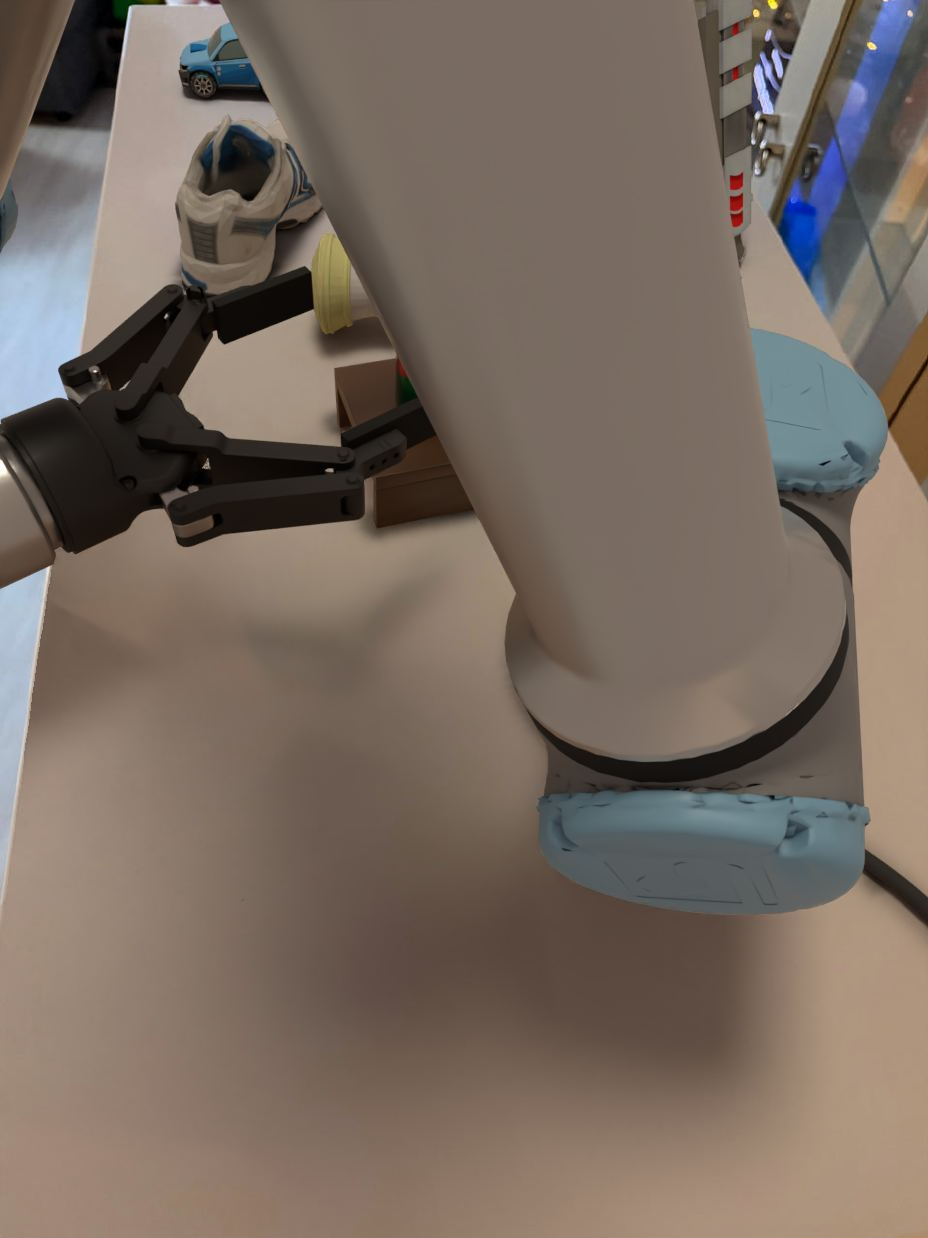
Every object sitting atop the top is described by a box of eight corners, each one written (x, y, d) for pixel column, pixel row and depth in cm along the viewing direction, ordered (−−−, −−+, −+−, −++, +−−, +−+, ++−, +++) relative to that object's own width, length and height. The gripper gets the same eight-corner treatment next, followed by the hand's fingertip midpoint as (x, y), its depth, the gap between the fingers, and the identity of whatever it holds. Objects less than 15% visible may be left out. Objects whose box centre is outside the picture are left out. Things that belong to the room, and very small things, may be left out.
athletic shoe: (345, 164, 90) (307, 30, 81) (297, 315, 77) (245, 176, 67) (247, 176, 92) (199, 47, 83) (184, 325, 79) (118, 191, 69)
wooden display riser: (526, 498, 67) (540, 418, 61) (376, 529, 64) (375, 448, 58) (475, 396, 73) (484, 314, 66) (336, 421, 70) (332, 338, 64)
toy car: (184, 71, 99) (174, 11, 94) (299, 73, 100) (295, 14, 96) (180, 98, 96) (170, 38, 91) (300, 100, 97) (295, 40, 92)
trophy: (302, 264, 67) (714, 287, 69) (313, 206, 72) (700, 229, 73) (311, 357, 74) (686, 376, 75) (320, 299, 78) (675, 318, 80)
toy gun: (601, -65, 74) (731, -27, 82) (609, 259, 79) (731, 264, 87) (621, -79, 72) (753, -39, 80) (629, 254, 77) (752, 260, 85)
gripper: (-41, 410, 56) (267, 292, 65) (160, 702, 45) (497, 515, 54) (-93, 302, 50) (255, 188, 59) (125, 611, 39) (511, 417, 48)
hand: (372, 345), depth 56 cm, fingers open, 13 cm apart
